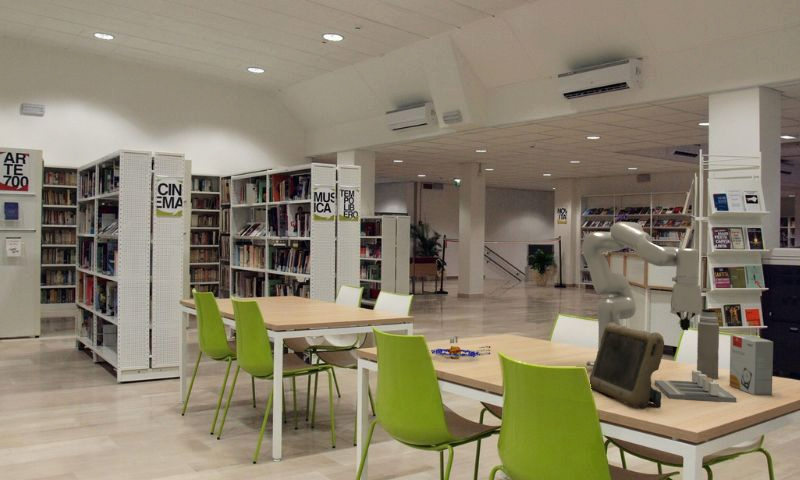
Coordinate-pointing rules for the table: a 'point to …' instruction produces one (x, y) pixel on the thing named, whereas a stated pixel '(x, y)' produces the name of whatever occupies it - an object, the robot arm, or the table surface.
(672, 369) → the table surface
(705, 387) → the block
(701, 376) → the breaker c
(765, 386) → the hard drive box
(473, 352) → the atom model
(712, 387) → the breaker
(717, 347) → the thermos bottle
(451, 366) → the table surface
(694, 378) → the breaker
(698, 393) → the panel
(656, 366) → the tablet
